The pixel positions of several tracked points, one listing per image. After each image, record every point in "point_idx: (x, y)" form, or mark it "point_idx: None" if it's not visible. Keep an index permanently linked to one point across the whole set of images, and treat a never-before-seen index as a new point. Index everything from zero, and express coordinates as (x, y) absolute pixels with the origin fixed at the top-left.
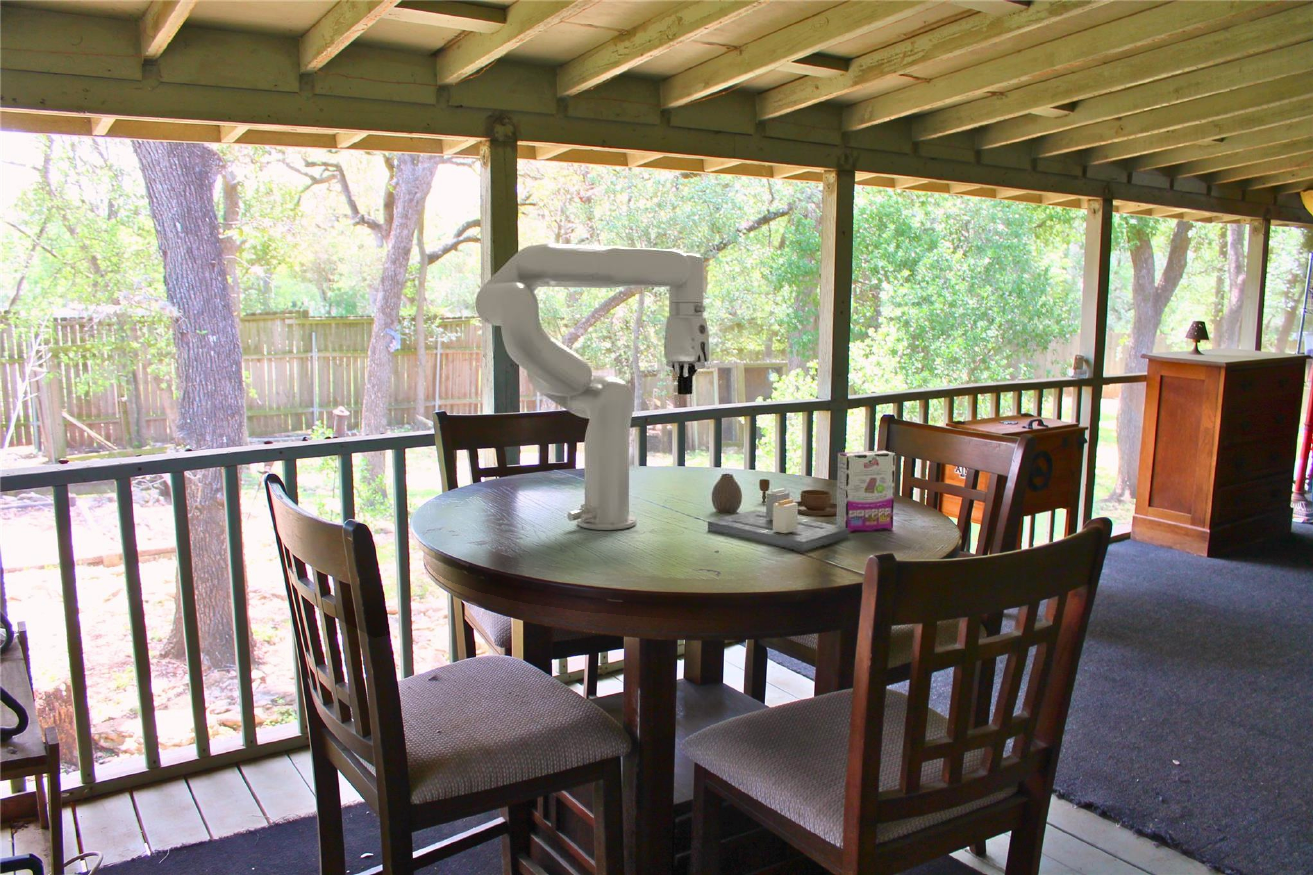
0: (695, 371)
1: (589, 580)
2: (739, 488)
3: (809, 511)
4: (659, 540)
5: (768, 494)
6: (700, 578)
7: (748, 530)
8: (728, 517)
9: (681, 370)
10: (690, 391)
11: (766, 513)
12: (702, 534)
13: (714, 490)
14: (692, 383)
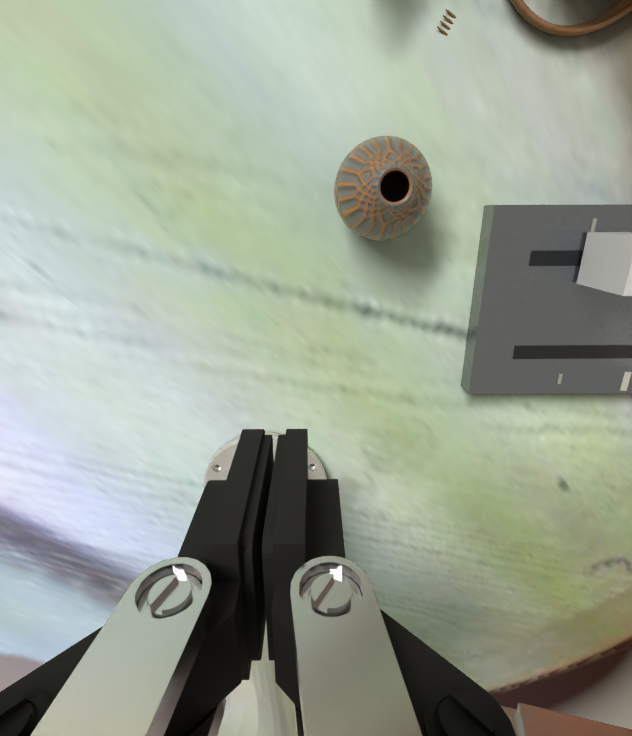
0: (434, 668)
1: (494, 676)
2: (429, 172)
3: (603, 27)
4: (433, 498)
5: (627, 294)
6: (616, 594)
7: (585, 393)
8: (485, 331)
9: (182, 707)
10: (307, 459)
11: (585, 285)
12: (470, 414)
13: (366, 234)
14: (340, 516)
